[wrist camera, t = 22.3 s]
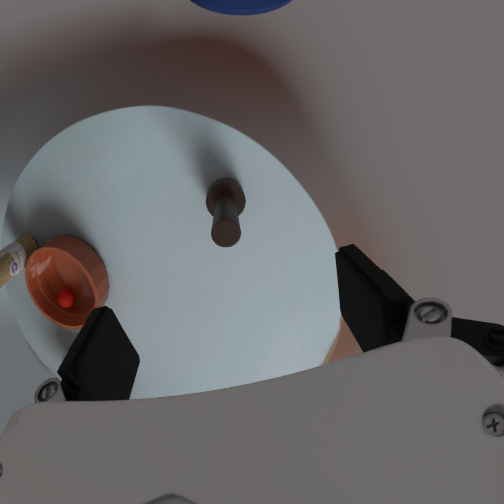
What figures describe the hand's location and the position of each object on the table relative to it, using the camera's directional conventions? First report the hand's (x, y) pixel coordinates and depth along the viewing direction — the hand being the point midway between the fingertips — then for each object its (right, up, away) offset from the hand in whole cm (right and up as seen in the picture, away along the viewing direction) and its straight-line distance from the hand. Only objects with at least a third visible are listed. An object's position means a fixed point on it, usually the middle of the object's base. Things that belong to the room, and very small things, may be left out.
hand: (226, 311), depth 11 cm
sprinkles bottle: (-35, +3, +24) cm, 42 cm away
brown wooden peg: (-2, +9, +24) cm, 26 cm away
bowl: (-26, -1, +26) cm, 37 cm away
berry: (-27, -5, +25) cm, 37 cm away
